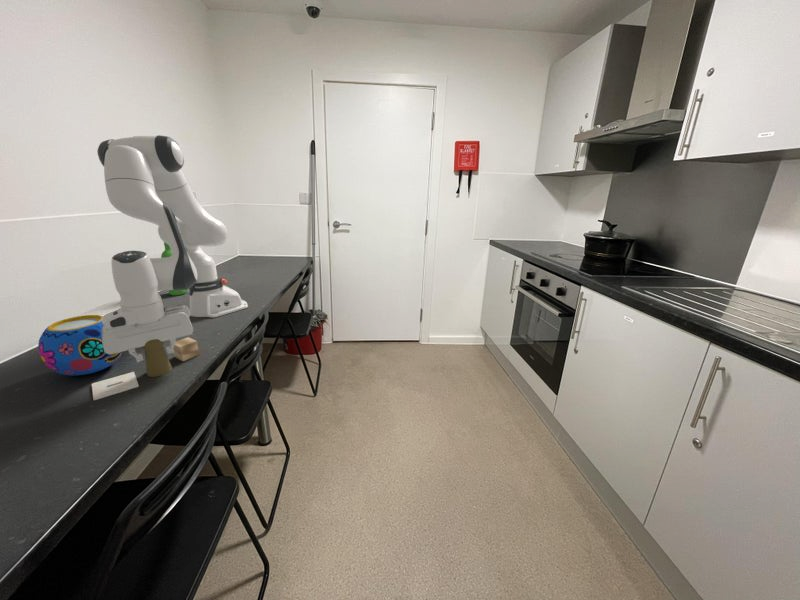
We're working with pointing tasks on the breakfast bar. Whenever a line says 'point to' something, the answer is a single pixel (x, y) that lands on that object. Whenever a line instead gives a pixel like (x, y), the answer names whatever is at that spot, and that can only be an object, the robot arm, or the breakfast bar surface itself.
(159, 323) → the robot arm
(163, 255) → the wine bottle
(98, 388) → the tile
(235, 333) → the breakfast bar surface
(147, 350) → the cork
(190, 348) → the oak cube
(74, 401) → the breakfast bar surface
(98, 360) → the ceramic pot
